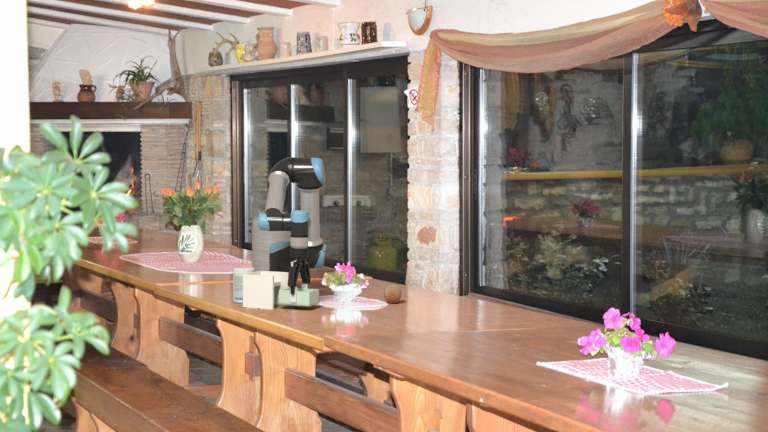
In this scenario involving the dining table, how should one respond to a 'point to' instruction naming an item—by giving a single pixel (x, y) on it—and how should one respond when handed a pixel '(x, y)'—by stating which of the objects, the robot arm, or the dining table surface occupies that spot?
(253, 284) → the box
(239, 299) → the supplement tub
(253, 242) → the vase
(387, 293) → the fruit
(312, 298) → the tray
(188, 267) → the dining table surface
